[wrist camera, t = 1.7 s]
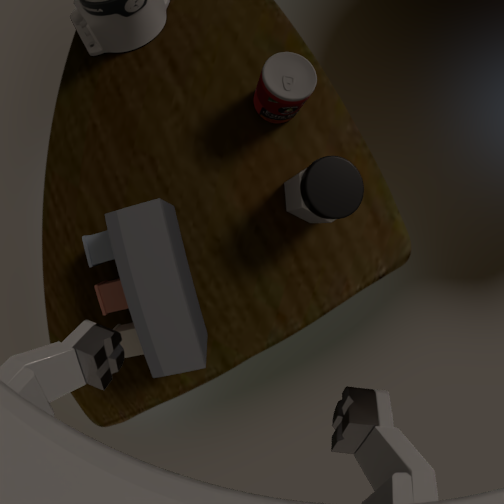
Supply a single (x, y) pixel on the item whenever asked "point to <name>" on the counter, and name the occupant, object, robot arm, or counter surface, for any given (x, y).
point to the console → (158, 287)
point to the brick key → (111, 296)
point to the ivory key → (129, 340)
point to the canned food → (284, 87)
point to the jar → (324, 190)
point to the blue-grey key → (98, 248)
